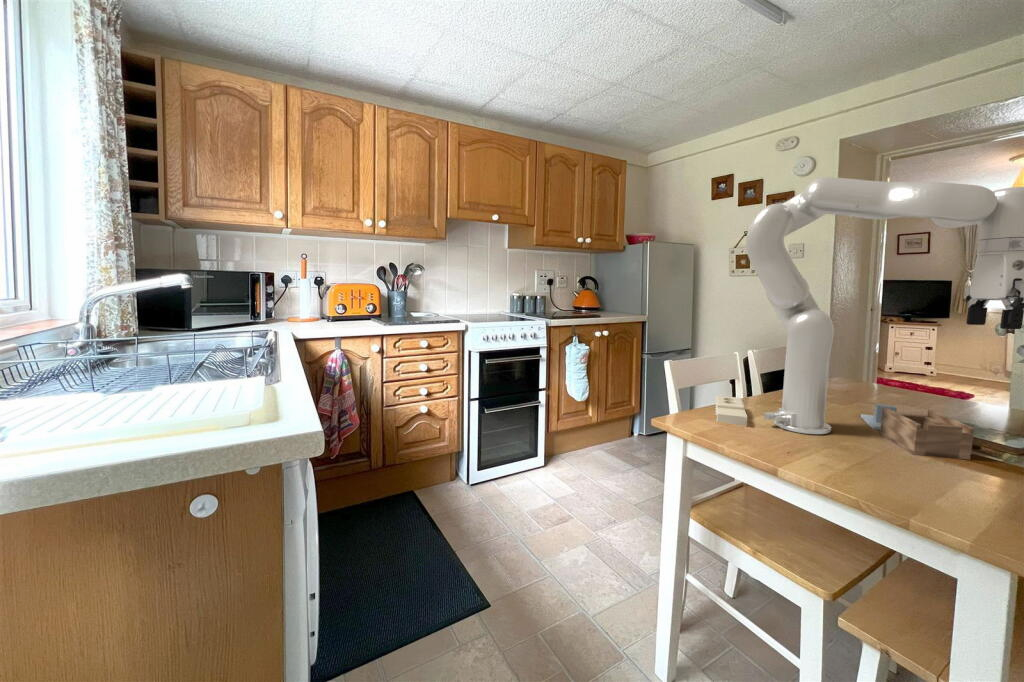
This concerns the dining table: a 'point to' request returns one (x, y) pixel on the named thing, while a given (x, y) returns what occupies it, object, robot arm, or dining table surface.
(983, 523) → the dining table surface
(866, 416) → the lid
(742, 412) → the electrical outlet
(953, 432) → the box
